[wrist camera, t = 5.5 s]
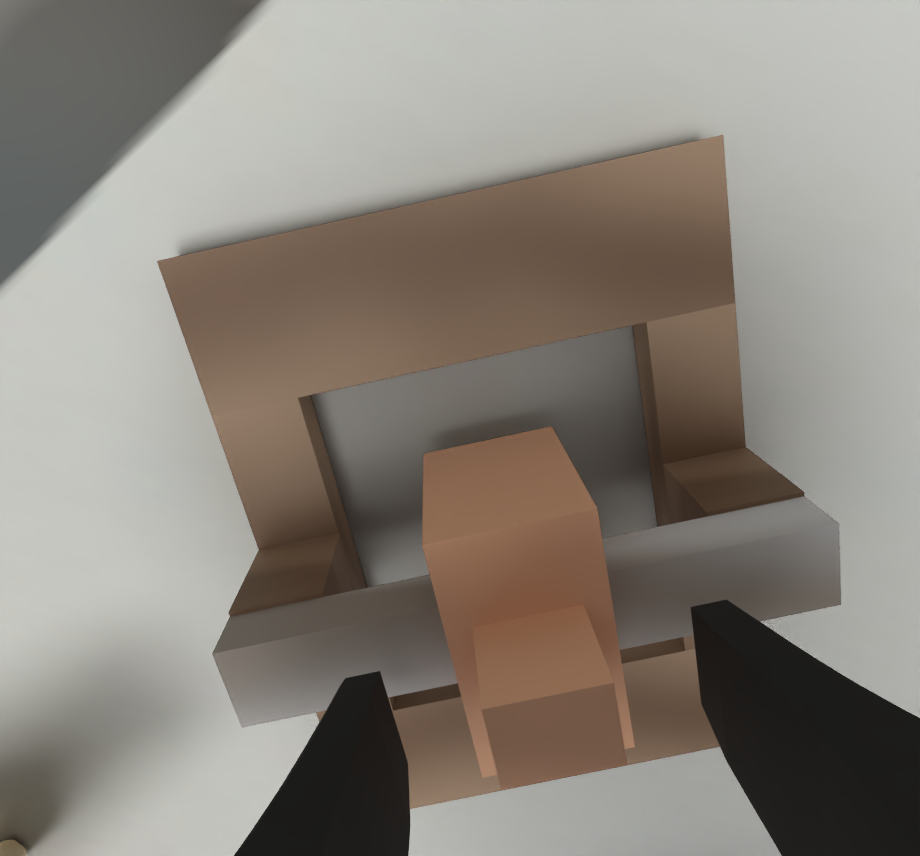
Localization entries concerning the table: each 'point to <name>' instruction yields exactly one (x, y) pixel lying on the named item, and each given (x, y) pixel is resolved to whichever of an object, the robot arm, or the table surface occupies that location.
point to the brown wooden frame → (468, 338)
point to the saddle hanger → (526, 607)
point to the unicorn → (11, 848)
